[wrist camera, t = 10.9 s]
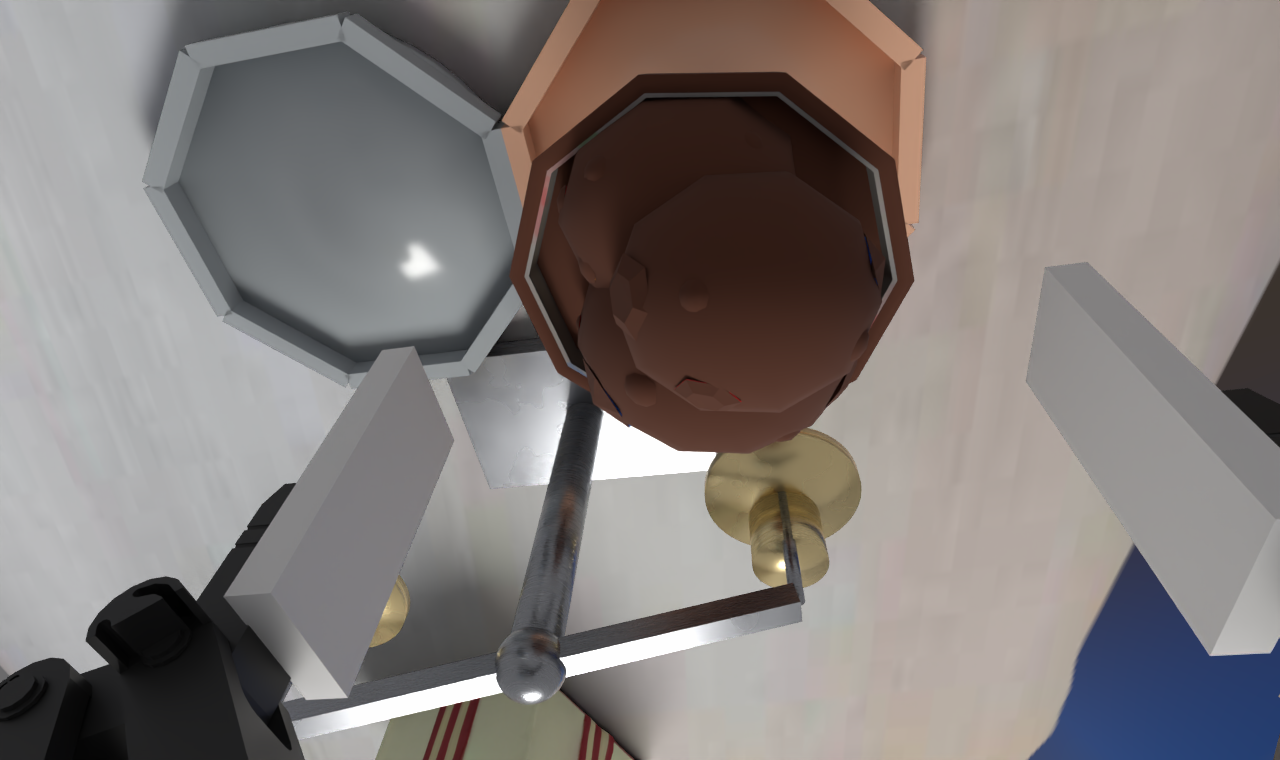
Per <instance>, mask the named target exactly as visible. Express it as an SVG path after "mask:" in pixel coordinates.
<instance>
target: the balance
mask: <svg viewBox="0 0 1280 760" xmlns="http://www.w3.org/2000/svg"><path fill="white" fill-rule="evenodd" d="M447 380H448V383H449V385H450V388H451V391H452V393H453V396H454V398H455V401H456V403H457V406H458V408H459V411H460V413H461V416H462V419H463V421H464V424H465V426H466V429H467V431H468V434H469V436H470V439H471V441H472V444H473V447H474V449H475V452H476V454H477V457H478V459H479V462H480V464H481V467H482V470H483V472H484V475H485V477H486V480H487V482H488V485H489V487H490V489H497V488H508V487H520V486H531V485H543V484H548V488H547V492H546V496H545V500H544V504H543V508H542V512H541V516H540V520H539V524H538V528H537V532H536V536H535V540H534V544H533V548H532V552H531V556H530V560H529V563H528V567H527V571H526V575H525V579H524V583H523V587H522V591H521V595H520V599H519V603H518V607H517V611H516V615H515V619H514V623H513V627H512V631H511V634H510V635H509V636H508V637H507V638H506V639H505V640H504V641H503V642H502V644H501V645H500V647H499V649H498V651H497V652H495V653H491V654H487V655H483V656H478V657H474V658H470V659H466V660H461V661H457V662H453V663H449V664H444V665H440V666H436V667H431V668H427V669H423V670H419V671H414V672H410V673H406V674H402V675H397V676H393V677H389V678H385V679H380V680H376V681H372V682H367V683H363V684H359V685H355V686H353V687H352V689H351V692H350V694H349V696H348V698H335V699H315V700H306V699H305V698H304V697H303V698H299V699H295V700H291V701H286V702H283V701H284V699H285V697H286V695H287V693H288V691H289V689H290V687H291V685H292V682H291V680H290V682H289V684H288V686H287V688H286V690H285V692H284V694H283V696H282V698H281V700H280V702H281V703H282V704H283V705H284V707H285V708H286V709H287V711H288V712H289V714H290V717H291V720H292V723H293V726H294V729H295V732H296V735H297V738H298V740H302V739H306V738H310V737H315V736H319V735H323V734H327V733H331V732H336V731H340V730H344V729H348V728H353V727H357V726H361V725H365V724H370V723H374V722H378V721H382V720H387V719H391V718H395V717H399V716H404V715H408V714H412V713H416V712H421V711H425V710H429V709H433V708H437V707H442V706H446V705H450V704H454V703H459V702H463V701H467V700H471V699H476V698H480V697H484V696H488V695H493V694H497V693H501V692H503V693H504V694H505V695H506V696H507V697H508V698H509V699H511V700H512V701H514V702H517V703H519V704H524V705H534V704H539V703H542V702H544V701H546V700H548V699H549V698H551V697H552V696H553V695H554V694H556V693H557V691H558V690H559V689H560V688H561V686H562V684H563V683H564V680H565V678H566V677H569V676H573V675H577V674H582V673H586V672H590V671H594V670H599V669H603V668H607V667H611V666H616V665H620V664H624V663H628V662H632V661H637V660H641V659H645V658H649V657H654V656H658V655H662V654H666V653H671V652H675V651H679V650H683V649H688V648H692V647H696V646H700V645H705V644H709V643H713V642H717V641H722V640H726V639H730V638H734V637H738V636H743V635H747V634H751V633H755V632H760V631H764V630H768V629H772V628H777V627H781V626H785V625H789V624H794V623H798V622H802V612H801V605H803V604H804V603H805V598H804V592H803V588H804V587H807V586H810V585H812V584H814V583H816V582H818V581H819V580H820V579H821V578H822V577H823V576H824V575H825V574H826V572H827V570H828V568H829V557H828V552H827V547H826V542H825V538H827V537H829V536H831V535H833V534H834V533H835V532H837V531H838V530H840V529H841V528H842V527H843V526H844V525H845V524H846V523H847V522H848V521H849V520H850V519H851V517H852V516H853V514H854V513H855V511H856V509H857V507H858V505H859V502H860V498H861V481H860V478H859V474H858V471H857V467H856V464H855V462H854V460H853V458H852V456H851V455H850V453H849V452H848V451H847V450H846V448H845V447H844V446H843V445H842V444H840V443H839V442H838V441H836V440H835V439H833V438H832V437H830V436H828V435H826V434H824V433H821V432H819V431H816V430H813V429H809V428H805V429H803V430H801V431H800V433H799V434H797V435H796V436H795V437H794V438H793V439H792V440H789V441H783V442H774V443H772V444H770V445H768V446H765V447H763V448H761V449H759V450H757V451H754V452H752V453H750V454H740V453H709V452H679V451H676V450H675V449H673V448H671V447H669V446H667V445H665V444H663V443H662V442H660V441H658V440H656V439H654V438H652V437H650V436H649V435H647V434H645V433H643V432H641V431H639V430H638V429H636V428H634V427H632V426H631V427H630V428H628V427H627V426H625V425H624V424H622V423H621V422H620V421H618V420H617V419H615V418H614V417H612V416H611V415H609V414H608V413H606V412H605V411H603V410H602V409H600V408H599V407H598V406H596V405H595V404H593V401H592V396H591V392H589V391H587V390H585V389H584V388H582V387H580V386H579V385H577V384H575V383H574V382H572V381H570V380H568V379H567V378H565V377H563V376H562V375H560V374H558V373H557V371H556V369H555V367H554V365H553V363H552V361H551V359H550V357H549V355H548V353H547V351H546V349H545V347H544V345H543V343H542V341H541V339H540V338H537V339H529V340H520V341H512V342H503V343H495V344H494V346H493V347H492V349H491V350H490V352H489V353H488V354H487V356H486V357H485V359H484V360H483V362H482V363H481V365H480V366H479V367H478V369H477V370H476V372H475V373H474V372H471V374H470V375H469V376H461V377H452V378H447ZM704 470H707V473H706V477H705V502H706V506H707V510H708V512H709V514H710V516H711V518H712V519H713V521H714V522H715V523H716V524H717V525H718V527H719V528H720V529H722V530H723V531H724V532H725V533H726V534H728V535H730V536H731V537H733V538H735V539H737V540H739V541H741V542H743V543H746V544H749V545H751V554H752V566H753V571H754V573H755V575H756V576H757V577H758V579H759V580H761V581H762V582H763V583H765V584H767V585H769V586H771V587H773V588H768V589H764V590H760V591H756V592H751V593H747V594H743V595H739V596H734V597H730V598H726V599H721V600H717V601H713V602H709V603H704V604H700V605H696V606H692V607H687V608H683V609H679V610H675V611H670V612H666V613H662V614H657V615H653V616H649V617H645V618H640V619H636V620H632V621H628V622H623V623H619V624H615V625H611V626H606V627H602V628H598V629H594V630H589V631H585V632H581V633H576V634H572V635H568V636H564V635H565V630H566V624H567V619H568V613H569V607H570V602H571V596H572V591H573V585H574V579H575V574H576V568H577V563H578V557H579V551H580V546H581V540H582V535H583V529H584V523H585V518H586V512H587V506H588V501H589V495H590V490H591V484H592V480H600V479H612V478H623V477H635V476H647V475H658V474H670V473H681V472H693V471H704ZM409 608H410V595H409V591H408V589H407V587H406V584H405V583H404V581H403V579H402V578H401V577H400V575H398V578H397V580H396V583H395V585H394V587H393V590H392V592H391V595H390V597H389V600H388V602H387V604H386V607H385V609H384V612H383V614H382V617H381V619H380V621H379V624H378V626H377V629H376V631H375V633H374V636H373V638H372V641H371V643H370V646H369V648H370V647H375V646H378V645H381V644H383V643H385V642H388V641H389V640H391V639H392V638H394V637H395V636H396V635H397V634H398V633H399V631H400V630H401V628H402V626H403V624H404V621H405V619H406V616H407V614H408V612H409Z"/></svg>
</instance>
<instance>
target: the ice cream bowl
mask: <svg viewBox="0 0 1280 760" xmlns="http://www.w3.org/2000/svg"><path fill="white" fill-rule="evenodd" d="M509 277H510V279H511V281H512V283H513V285H514V287H515V289H516V291H517V293H518V295H519V297H520V299H521V301H522V303H523V305H524V307H525V309H526V311H527V313H528V315H529V317H530V319H531V321H532V323H533V325H534V327H535V329H536V331H537V333H538V335H539V337H540V339H541V341H542V343H543V345H544V347H545V349H546V351H547V353H548V355H549V357H550V359H551V361H552V363H553V365H554V367H555V369H556V371H557V373H558V374H560V375H562V376H563V377H565V378H567V379H568V380H570V381H572V382H574V383H575V384H577V385H579V386H580V387H582V388H584V389H585V390H587V391H589V392H591V396H592V401H593V404H595V405H596V406H598V407H599V408H600V409H602V410H603V411H605V412H606V413H608V414H609V415H611V416H612V417H614V418H615V419H617V420H618V421H620V422H621V423H622V424H624V425H625V426H627V427H628V428H630V427H631V426H632V427H634V428H636V429H638V430H639V431H641V432H643V433H645V434H647V435H649V436H650V437H652V438H654V439H656V440H658V441H660V442H662V443H663V444H665V445H667V446H669V447H671V448H673V449H675V450H676V451H679V452H709V453H740V454H750V453H752V452H754V451H757V450H759V449H761V448H763V447H765V446H768V445H770V444H772V443H774V442H783V441H789V440H792V439H793V438H794V437H795V436H796V435H797V434H799V433H800V431H801V430H803V429H805V428H807V427H810V426H812V425H813V424H814V422H815V421H816V420H817V419H818V418H819V416H820V415H821V414H822V413H823V411H824V410H825V408H826V407H827V406H829V405H830V404H831V403H832V402H833V401H834V400H835V399H837V398H838V397H839V396H840V394H841V393H842V392H843V391H844V390H845V389H846V388H847V386H848V384H849V383H851V382H853V381H855V380H857V378H858V376H859V375H860V373H861V371H862V370H863V368H864V366H865V364H866V363H867V361H868V359H869V358H870V356H871V354H872V352H873V351H874V349H875V347H876V346H877V344H878V342H879V340H880V339H881V337H882V335H883V334H884V332H885V330H886V328H887V327H888V325H889V323H890V322H891V320H892V318H893V316H894V315H895V313H896V311H897V310H898V308H899V306H900V304H901V303H902V301H903V299H904V298H905V296H906V294H907V292H908V291H909V289H910V287H911V286H912V284H913V282H914V276H913V269H912V263H911V257H910V251H909V244H908V238H907V232H906V226H905V219H904V213H903V207H902V201H901V194H900V188H899V182H898V176H897V169H896V163H895V159H894V158H893V157H891V156H890V155H889V154H888V153H886V152H885V151H884V150H883V149H881V148H880V147H879V146H878V145H876V144H875V143H874V142H873V141H871V140H870V139H869V138H868V137H866V136H865V135H864V134H863V133H861V132H860V131H859V130H858V129H856V128H855V127H854V126H853V125H851V124H850V123H849V122H848V121H846V120H845V119H844V118H843V117H841V116H840V115H839V114H838V113H836V112H835V111H834V110H833V109H831V108H830V107H829V106H828V105H826V104H825V103H824V102H823V101H821V100H820V99H819V98H818V97H816V96H815V95H814V94H813V93H811V92H810V91H809V90H808V89H806V88H805V87H804V86H803V85H801V84H800V83H799V82H798V81H796V80H795V79H794V78H793V77H791V76H790V75H789V74H788V73H786V72H719V73H653V74H640V75H637V76H636V77H635V78H634V79H632V80H631V81H630V82H629V83H627V84H626V85H625V86H624V87H623V88H621V89H620V90H619V91H618V92H616V93H615V94H614V95H613V96H611V97H610V98H609V99H608V100H607V101H605V102H604V103H603V104H602V105H600V106H599V107H598V108H597V109H595V110H594V111H593V112H592V113H591V114H589V115H588V116H587V117H586V118H584V119H583V120H582V121H581V122H580V123H578V124H577V125H576V126H575V127H573V128H572V129H571V130H570V131H568V132H567V133H566V134H565V135H564V136H562V137H561V138H560V139H559V140H557V141H556V142H555V143H554V144H552V145H551V146H550V147H549V148H548V149H546V150H545V151H544V152H543V153H541V154H540V155H539V156H538V157H536V158H535V159H534V160H533V161H532V165H531V170H530V175H529V180H528V185H527V190H526V195H525V200H524V205H523V210H522V215H521V220H520V225H519V230H518V235H517V240H516V245H515V250H514V255H513V260H512V265H511V270H510V274H509Z"/></svg>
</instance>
